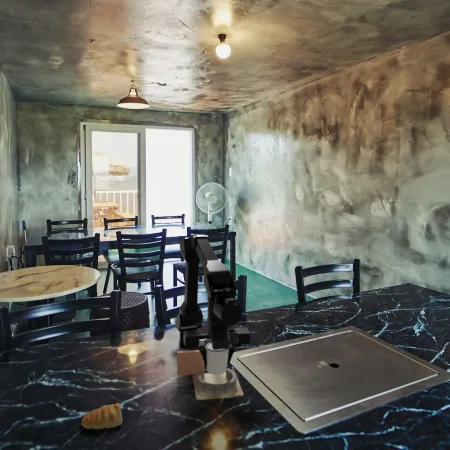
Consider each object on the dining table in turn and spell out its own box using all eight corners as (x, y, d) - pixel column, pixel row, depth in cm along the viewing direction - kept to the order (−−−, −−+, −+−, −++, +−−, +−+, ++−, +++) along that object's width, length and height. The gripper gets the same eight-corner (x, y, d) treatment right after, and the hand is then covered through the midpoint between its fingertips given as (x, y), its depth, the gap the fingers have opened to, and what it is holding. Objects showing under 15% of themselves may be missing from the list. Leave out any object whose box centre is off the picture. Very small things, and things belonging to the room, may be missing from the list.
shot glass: (232, 367, 110) (233, 344, 110) (222, 378, 104) (223, 353, 103) (211, 361, 113) (211, 339, 113) (200, 372, 107) (200, 348, 106)
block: (177, 375, 113) (177, 353, 112) (177, 373, 114) (177, 351, 114) (204, 373, 114) (204, 351, 114) (203, 371, 116) (203, 349, 115)
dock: (196, 400, 102) (196, 389, 101) (192, 375, 115) (192, 366, 114) (243, 396, 104) (243, 386, 104) (234, 372, 117) (234, 363, 116)
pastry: (82, 436, 87) (81, 421, 87) (81, 419, 93) (80, 405, 93) (124, 426, 91) (123, 411, 91) (120, 411, 97) (119, 396, 97)
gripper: (186, 325, 97) (186, 382, 99) (257, 322, 101) (255, 377, 102) (183, 310, 108) (183, 362, 110) (247, 308, 111) (246, 358, 113)
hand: (216, 365), depth 109 cm, fingers closed on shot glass, 6 cm apart
